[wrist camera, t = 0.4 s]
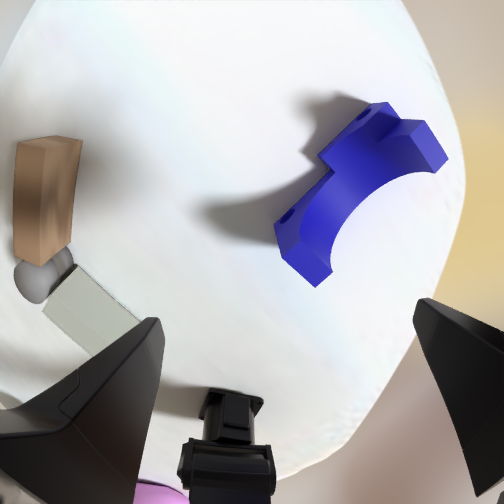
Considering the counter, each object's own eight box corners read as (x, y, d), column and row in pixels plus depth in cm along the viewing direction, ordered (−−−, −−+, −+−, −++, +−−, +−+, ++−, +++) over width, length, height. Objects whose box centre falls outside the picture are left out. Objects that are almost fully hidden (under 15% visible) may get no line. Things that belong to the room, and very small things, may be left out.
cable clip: (370, 103, 19) (409, 100, 13) (404, 147, 20) (448, 158, 14) (259, 211, 22) (263, 241, 17) (299, 248, 23) (314, 287, 18)
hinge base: (73, 280, 24) (47, 310, 20) (43, 269, 24) (16, 295, 19) (86, 141, 19) (50, 149, 14) (52, 134, 18) (14, 142, 14)
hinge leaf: (36, 257, 23) (9, 281, 18) (50, 232, 22) (20, 254, 17) (131, 345, 27) (117, 378, 23) (152, 327, 26) (138, 362, 22)
